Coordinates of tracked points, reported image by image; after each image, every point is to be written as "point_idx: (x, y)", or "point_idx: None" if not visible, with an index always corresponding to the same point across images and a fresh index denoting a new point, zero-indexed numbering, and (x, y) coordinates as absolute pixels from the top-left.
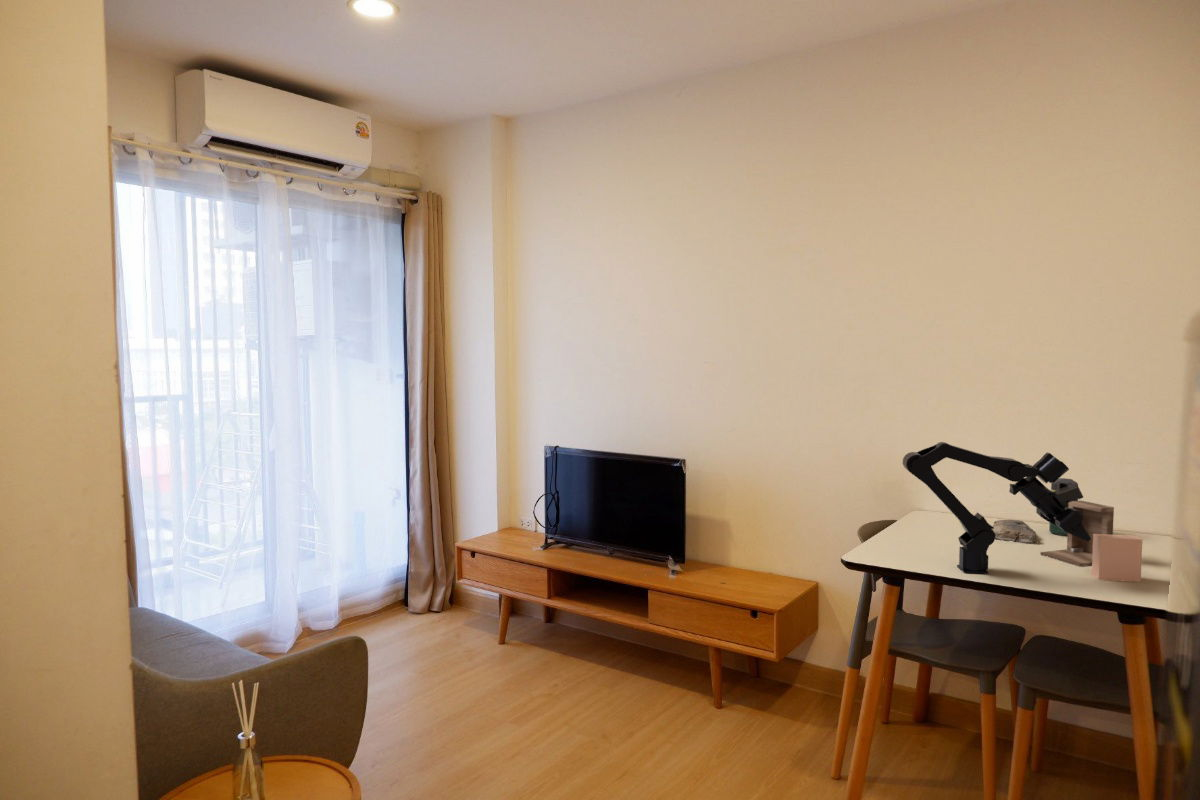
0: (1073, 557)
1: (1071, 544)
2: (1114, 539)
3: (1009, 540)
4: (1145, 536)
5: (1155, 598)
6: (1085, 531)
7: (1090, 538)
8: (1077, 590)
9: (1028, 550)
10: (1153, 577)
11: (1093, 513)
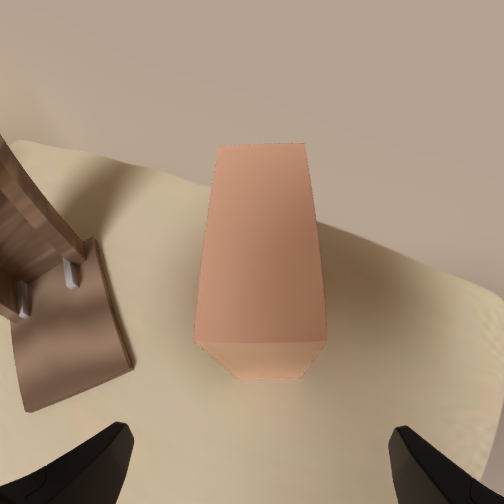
0: (65, 346)
1: (11, 310)
2: (318, 256)
3: None
4: None
5: (451, 279)
6: (459, 471)
7: (410, 428)
8: None
9: (3, 414)
10: None
11: None
